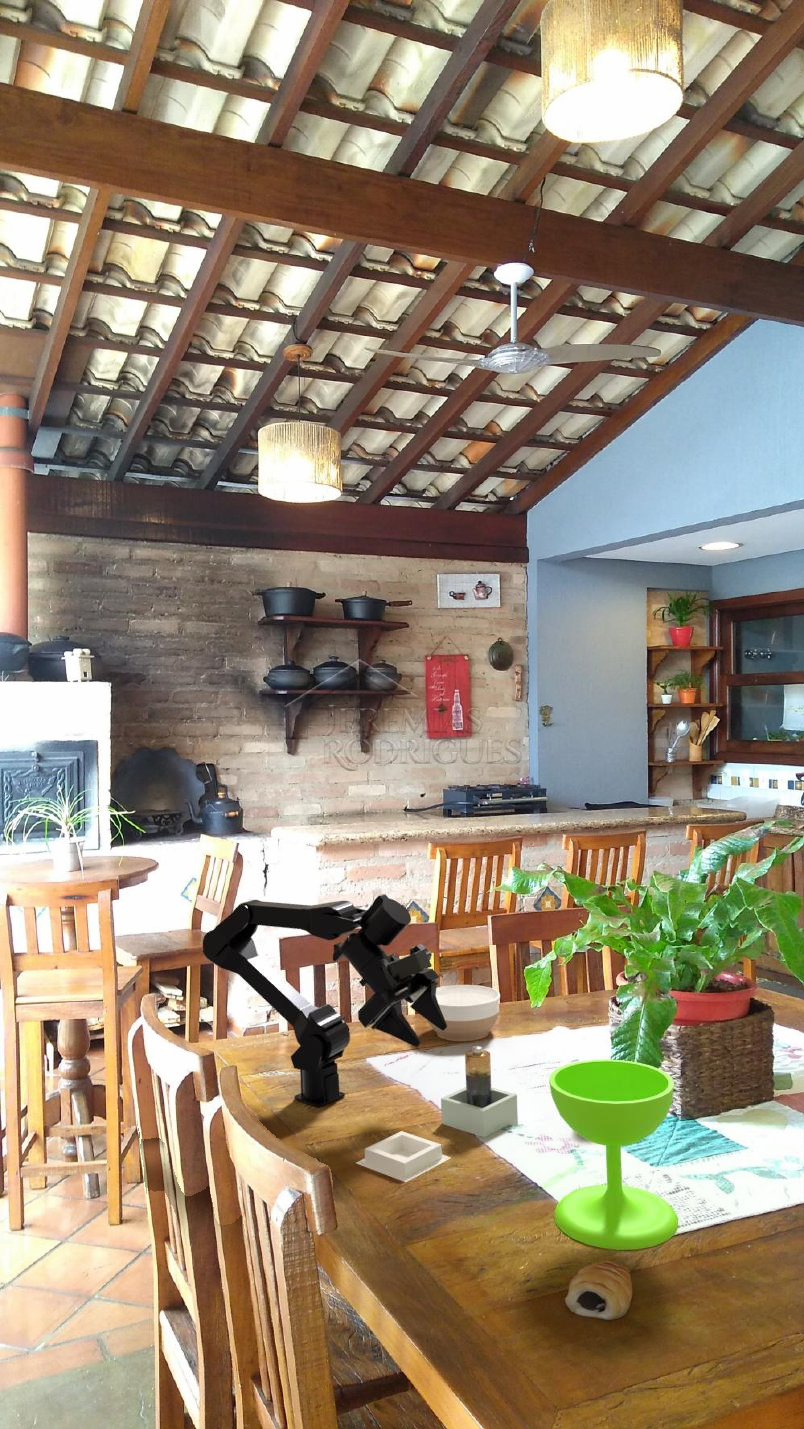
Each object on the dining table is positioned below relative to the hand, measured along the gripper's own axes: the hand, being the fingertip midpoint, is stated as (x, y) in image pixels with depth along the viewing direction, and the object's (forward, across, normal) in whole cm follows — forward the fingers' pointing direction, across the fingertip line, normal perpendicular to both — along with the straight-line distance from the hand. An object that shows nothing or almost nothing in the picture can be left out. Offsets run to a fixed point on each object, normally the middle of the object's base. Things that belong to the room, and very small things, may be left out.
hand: (432, 1036), depth 170 cm
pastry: (+39, -38, -19) cm, 57 cm away
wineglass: (+36, -19, -16) cm, 43 cm away
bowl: (-2, +42, +21) cm, 47 cm away
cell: (+15, 0, +3) cm, 15 cm away
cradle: (+12, -18, +7) cm, 23 cm away
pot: (+15, 0, +4) cm, 16 cm away
